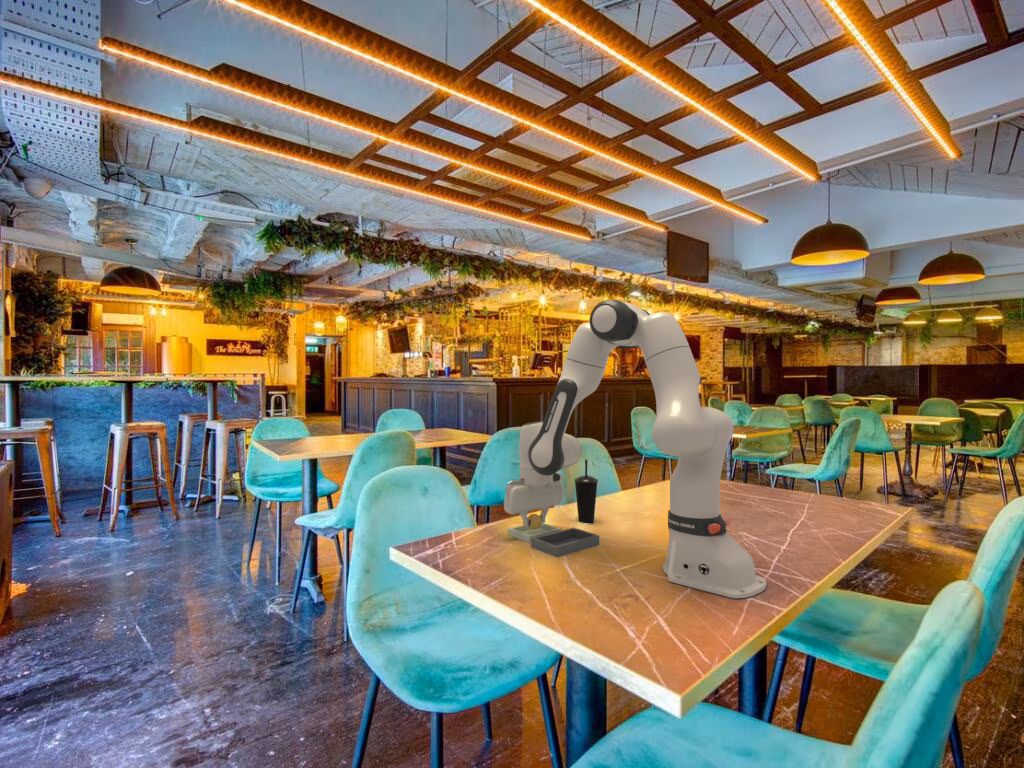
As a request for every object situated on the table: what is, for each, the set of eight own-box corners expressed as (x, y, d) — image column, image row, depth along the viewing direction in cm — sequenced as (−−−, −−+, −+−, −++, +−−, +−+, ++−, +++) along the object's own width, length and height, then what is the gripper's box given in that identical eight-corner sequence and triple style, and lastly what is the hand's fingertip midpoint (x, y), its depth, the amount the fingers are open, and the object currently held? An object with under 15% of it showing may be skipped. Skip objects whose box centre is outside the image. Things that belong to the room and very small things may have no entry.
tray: (561, 536, 149) (561, 528, 149) (529, 544, 142) (529, 536, 142) (538, 528, 157) (538, 521, 157) (507, 536, 150) (507, 528, 150)
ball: (544, 529, 149) (544, 514, 149) (533, 532, 147) (533, 516, 147) (534, 526, 153) (534, 511, 153) (523, 528, 150) (523, 513, 150)
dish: (599, 546, 141) (599, 535, 140) (556, 559, 131) (556, 547, 131) (573, 537, 148) (573, 527, 148) (531, 549, 138) (531, 538, 138)
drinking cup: (600, 525, 161) (599, 461, 161) (575, 525, 161) (575, 461, 161) (596, 518, 168) (596, 457, 168) (573, 518, 169) (573, 458, 168)
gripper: (513, 483, 141) (513, 533, 141) (566, 474, 153) (566, 520, 153) (499, 479, 146) (499, 528, 146) (552, 471, 158) (552, 516, 158)
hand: (534, 524), depth 150 cm, fingers closed on ball, 4 cm apart
